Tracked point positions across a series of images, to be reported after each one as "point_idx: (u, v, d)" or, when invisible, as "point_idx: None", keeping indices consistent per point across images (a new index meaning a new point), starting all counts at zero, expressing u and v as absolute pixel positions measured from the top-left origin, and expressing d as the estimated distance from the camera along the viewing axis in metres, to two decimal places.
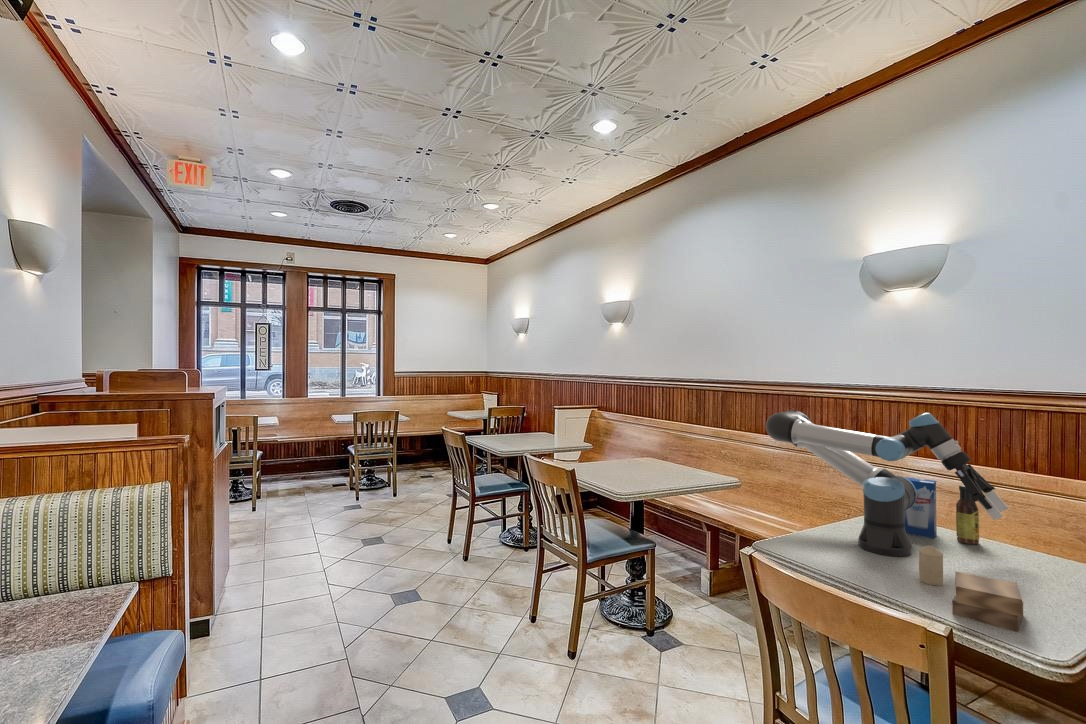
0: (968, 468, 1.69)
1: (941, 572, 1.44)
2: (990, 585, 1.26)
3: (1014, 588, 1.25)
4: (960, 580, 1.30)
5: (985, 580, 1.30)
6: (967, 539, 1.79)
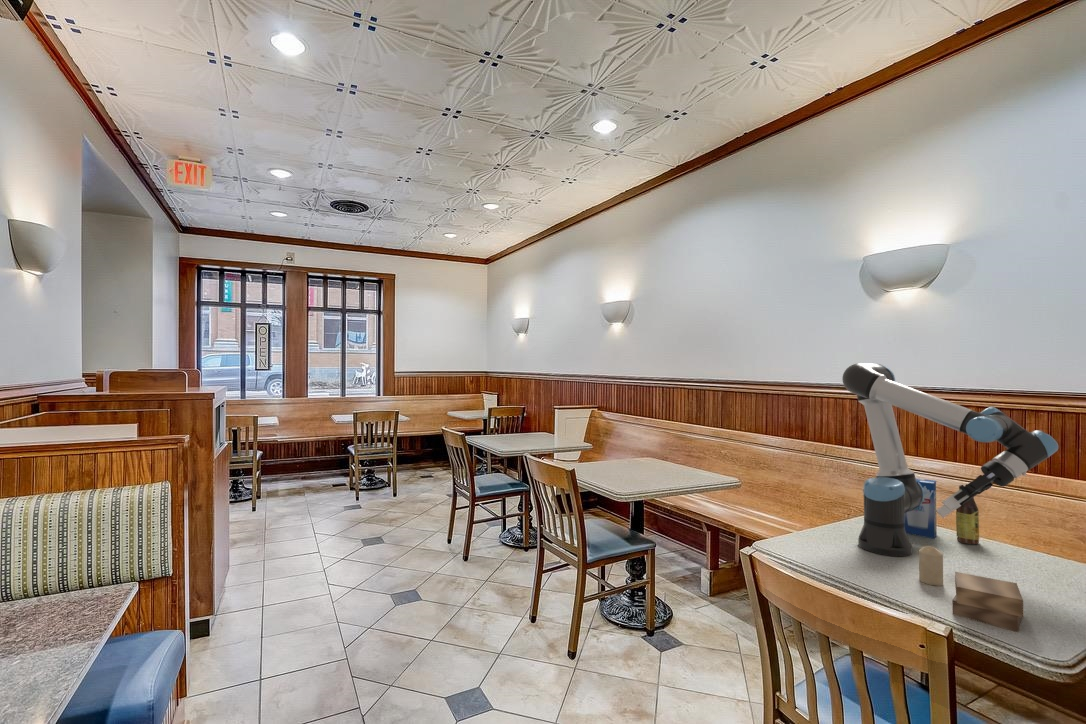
0: None
1: (941, 572, 1.44)
2: (990, 586, 1.26)
3: (1014, 588, 1.25)
4: (960, 580, 1.29)
5: (985, 580, 1.29)
6: (967, 539, 1.79)
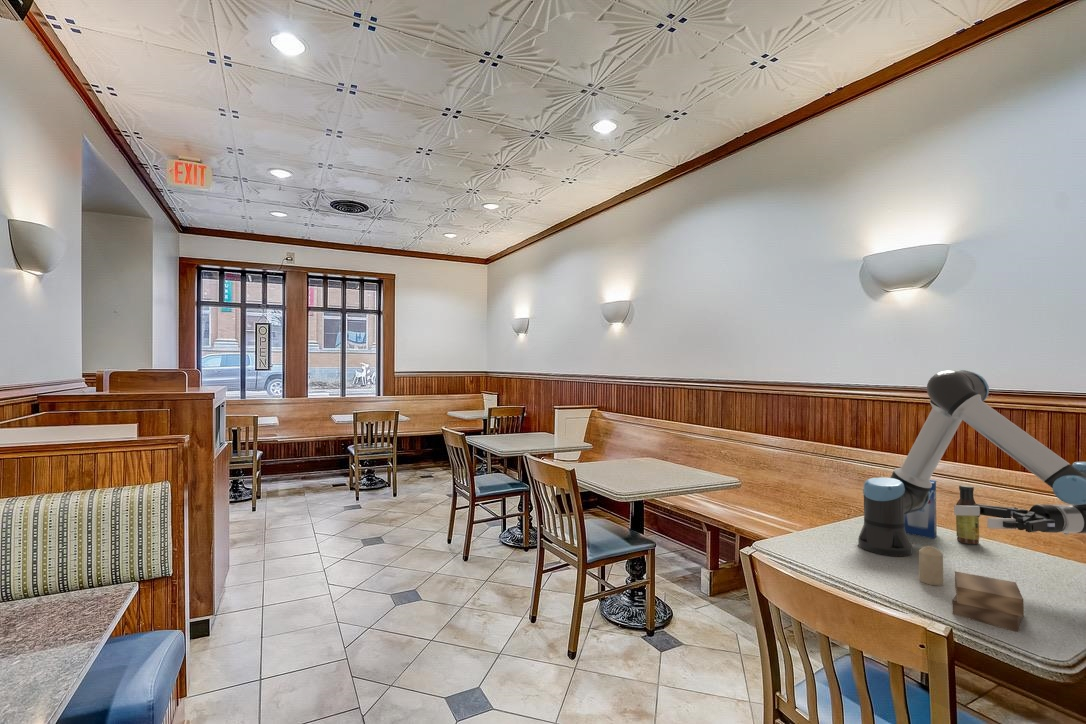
0: None
1: (941, 572, 1.44)
2: (990, 585, 1.26)
3: (1014, 587, 1.25)
4: (960, 580, 1.29)
5: (984, 580, 1.30)
6: (967, 539, 1.79)
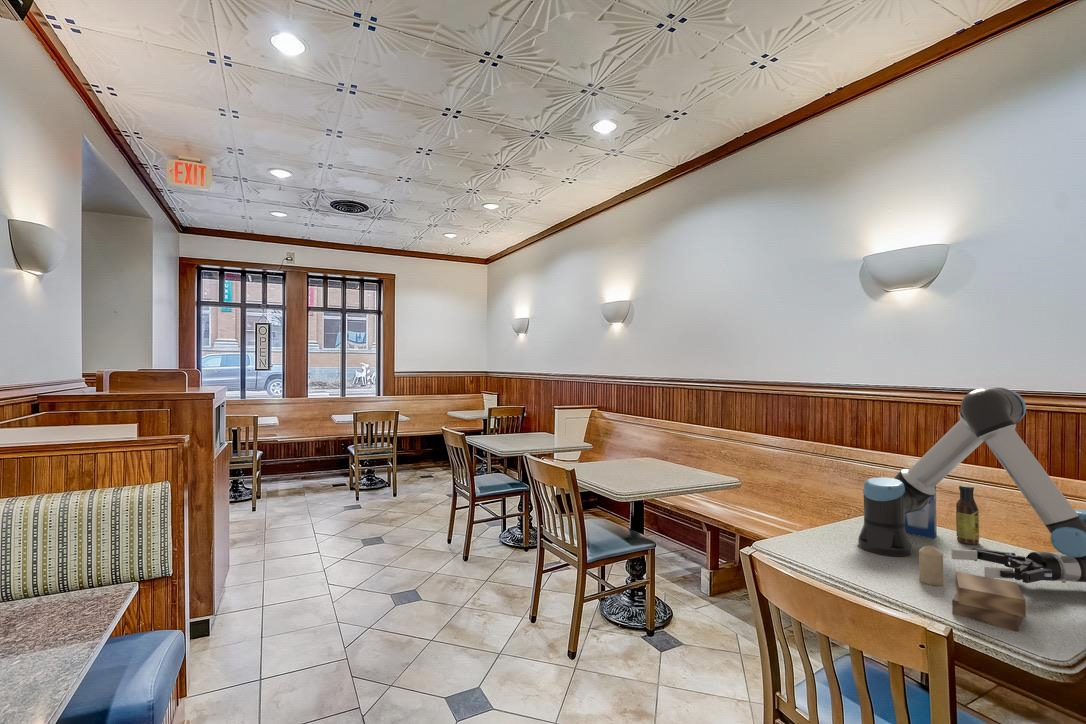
0: None
1: (941, 572, 1.44)
2: (992, 586, 1.26)
3: (1015, 587, 1.25)
4: (961, 580, 1.29)
5: (985, 580, 1.29)
6: (967, 539, 1.79)
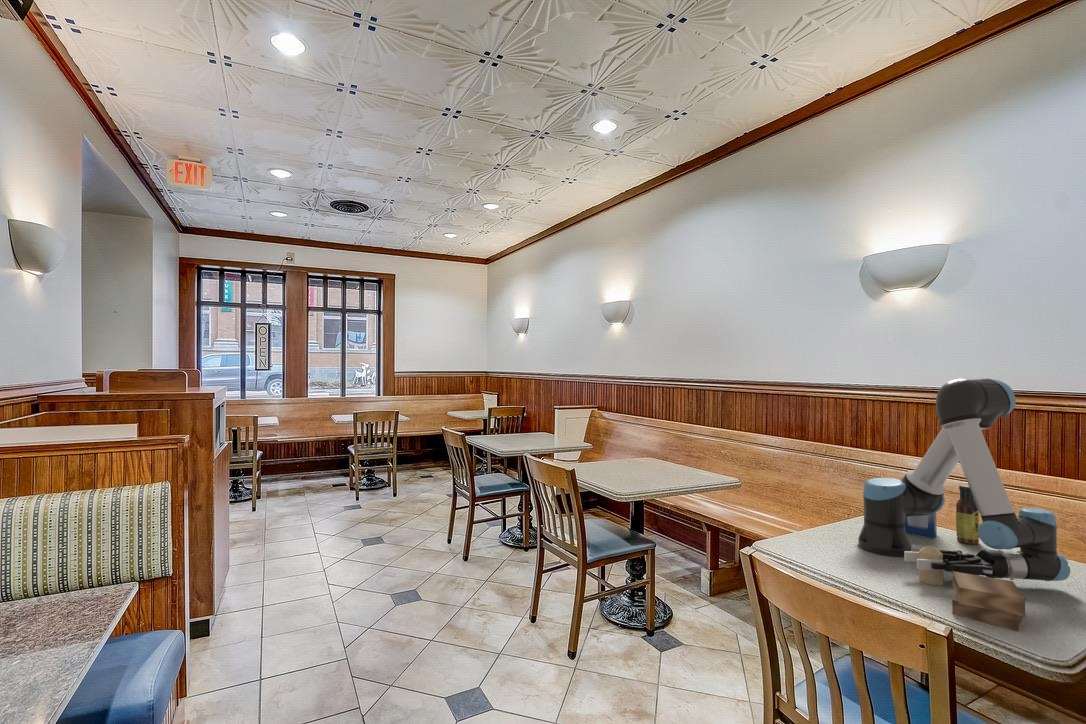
0: None
1: (941, 572, 1.44)
2: (990, 585, 1.27)
3: (1013, 586, 1.26)
4: (960, 580, 1.29)
5: (983, 579, 1.30)
6: (967, 539, 1.79)
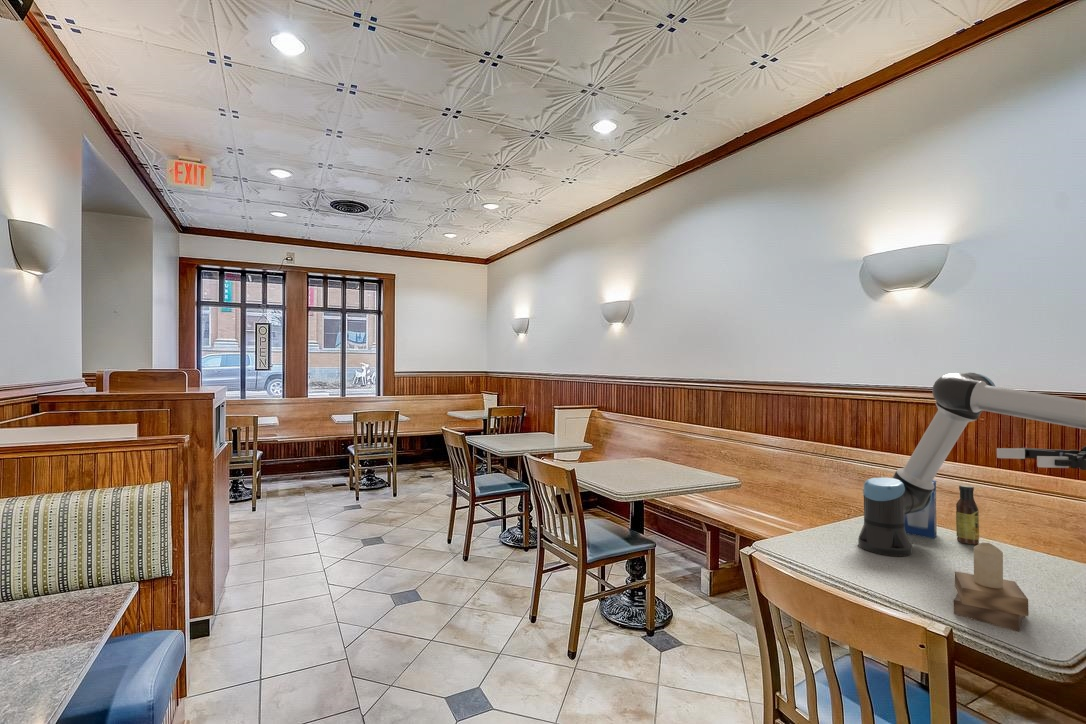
0: None
1: (999, 573, 1.24)
2: None
3: (1015, 586, 1.26)
4: (963, 580, 1.29)
5: None
6: (967, 539, 1.79)
